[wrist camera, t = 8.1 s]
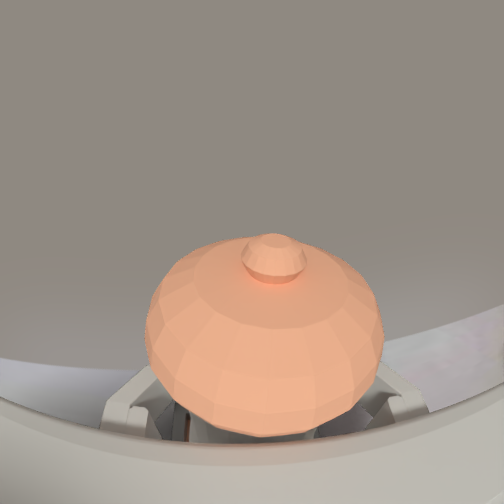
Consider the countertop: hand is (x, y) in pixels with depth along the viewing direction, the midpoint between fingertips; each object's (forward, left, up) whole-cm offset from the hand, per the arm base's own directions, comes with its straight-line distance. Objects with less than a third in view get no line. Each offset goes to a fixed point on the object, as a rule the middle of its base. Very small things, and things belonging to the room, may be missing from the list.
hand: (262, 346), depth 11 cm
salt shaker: (0, -1, -14) cm, 14 cm away
